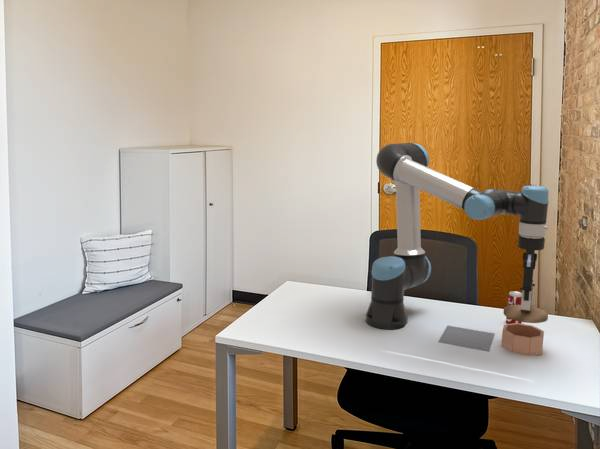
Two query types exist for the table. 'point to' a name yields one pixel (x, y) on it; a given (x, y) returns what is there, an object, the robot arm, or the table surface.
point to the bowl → (522, 339)
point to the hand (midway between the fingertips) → (525, 307)
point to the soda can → (513, 299)
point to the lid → (526, 313)
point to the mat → (467, 338)
